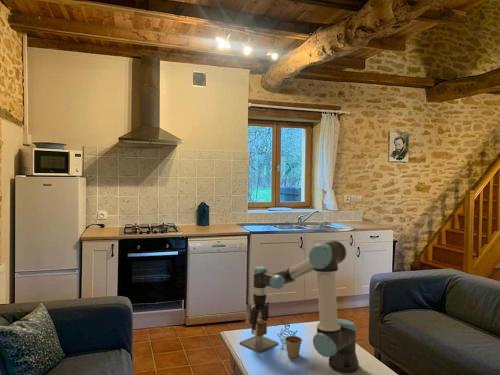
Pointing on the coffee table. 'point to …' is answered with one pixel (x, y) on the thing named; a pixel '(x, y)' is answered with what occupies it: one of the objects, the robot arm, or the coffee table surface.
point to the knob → (261, 327)
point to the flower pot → (293, 345)
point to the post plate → (257, 346)
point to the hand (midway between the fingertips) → (259, 333)
